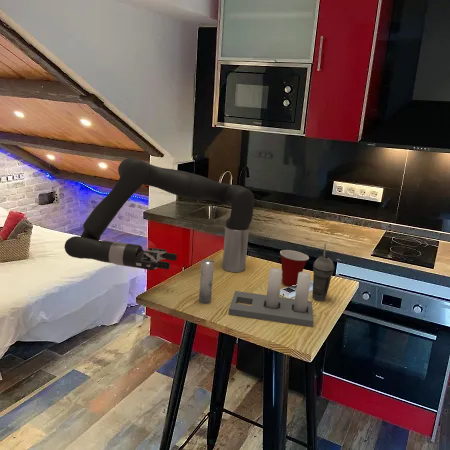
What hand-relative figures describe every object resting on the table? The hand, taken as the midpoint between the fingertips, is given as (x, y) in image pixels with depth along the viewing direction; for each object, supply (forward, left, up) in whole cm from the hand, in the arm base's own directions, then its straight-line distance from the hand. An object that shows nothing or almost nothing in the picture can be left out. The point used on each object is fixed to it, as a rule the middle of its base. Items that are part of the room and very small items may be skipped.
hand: (173, 261), depth 141 cm
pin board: (0, +33, -12) cm, 36 cm away
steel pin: (0, +11, -12) cm, 17 cm away
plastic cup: (-25, +39, -13) cm, 48 cm away
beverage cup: (-15, +49, -13) cm, 53 cm away
